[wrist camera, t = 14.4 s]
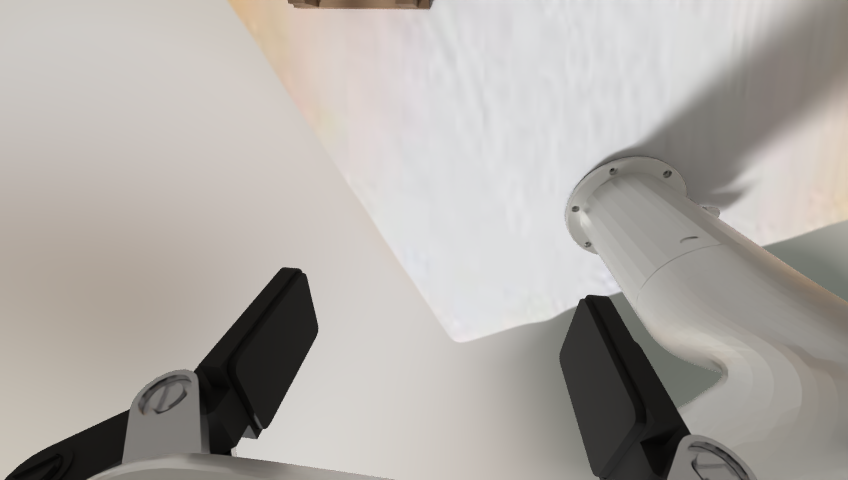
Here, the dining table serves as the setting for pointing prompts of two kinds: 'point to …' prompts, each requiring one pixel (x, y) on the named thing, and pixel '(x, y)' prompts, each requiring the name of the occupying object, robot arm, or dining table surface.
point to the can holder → (361, 4)
